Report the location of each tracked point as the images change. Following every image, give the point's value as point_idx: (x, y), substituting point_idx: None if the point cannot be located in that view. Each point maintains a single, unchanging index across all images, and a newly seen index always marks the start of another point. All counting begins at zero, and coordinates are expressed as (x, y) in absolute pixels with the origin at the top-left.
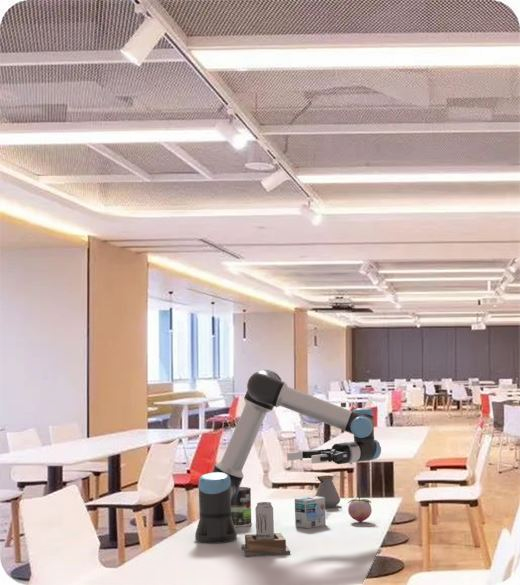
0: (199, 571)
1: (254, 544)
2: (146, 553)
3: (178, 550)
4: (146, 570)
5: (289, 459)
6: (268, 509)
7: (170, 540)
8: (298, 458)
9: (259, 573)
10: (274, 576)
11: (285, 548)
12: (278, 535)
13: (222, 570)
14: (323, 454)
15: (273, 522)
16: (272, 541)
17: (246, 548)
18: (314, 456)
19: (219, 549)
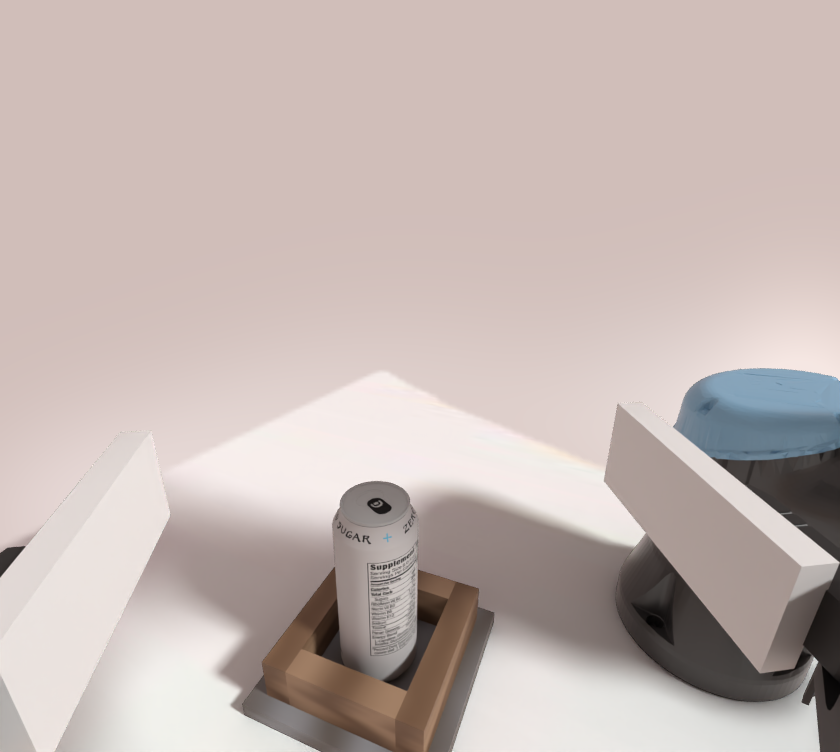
0: (294, 455)
1: None
2: (546, 445)
3: (549, 491)
4: (382, 412)
5: (613, 478)
6: (333, 521)
7: None
8: (697, 581)
9: None
10: None
11: (267, 687)
12: (370, 686)
13: (258, 482)
14: (5, 576)
15: (349, 601)
16: (299, 618)
17: None
18: (109, 458)
19: (508, 563)
